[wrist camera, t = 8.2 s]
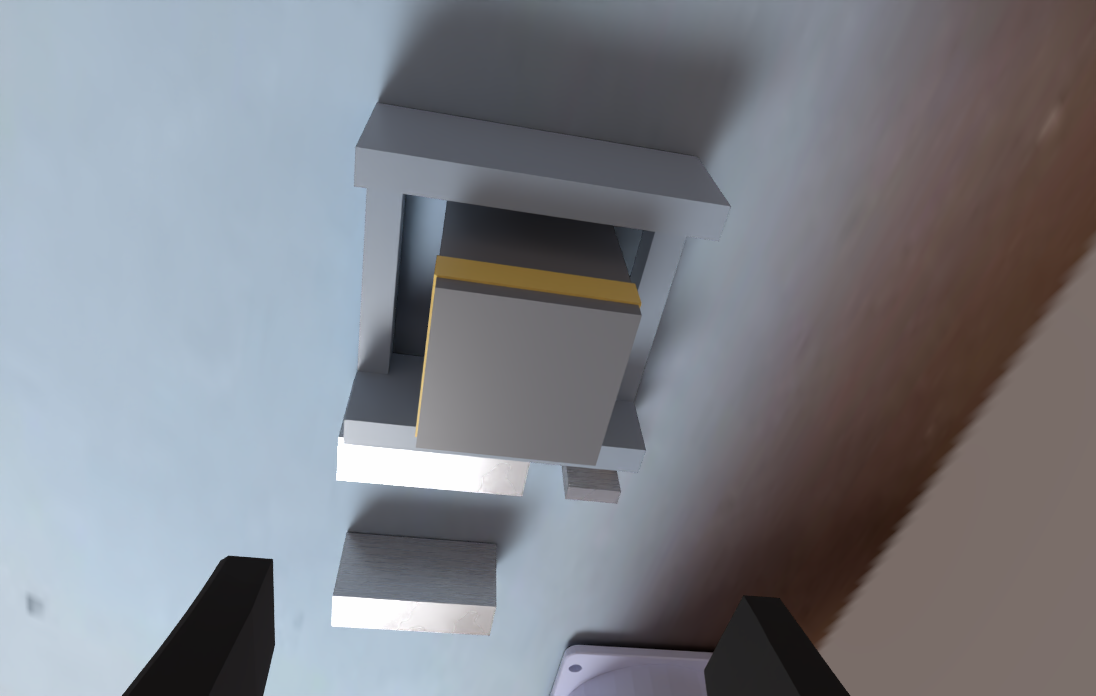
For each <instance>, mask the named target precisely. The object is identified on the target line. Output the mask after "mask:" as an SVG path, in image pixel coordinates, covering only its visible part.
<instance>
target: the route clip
mask: <svg viewBox="0 0 1096 696" xmlns="http://www.w3.org/2000/svg"><path fill="white" fill-rule="evenodd" d="M562 473H563V482H564V492H565V499H572V500H583V501H594V502H605V503H616V504H617V502H618V499H619V496H620V493H621V489H620V484H619V479H618V474H617V471H613V470H603V469H593V468H583V467H572V466H562Z"/></svg>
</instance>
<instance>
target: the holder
mask: <svg viewBox="0 0 1096 696" xmlns="http://www.w3.org/2000/svg"><path fill="white" fill-rule="evenodd" d="M354 186H355V187H362V188H367V195H366V214H365V234H364V253H363V272H362V292H361V311H360V330H359V350H358V369H357V374H356V378H355V382H354V386H353V389H352V393H351V397H350V400H349V404H348V408H347V412H346V415H345V419H344V441H343V444H346V445H356V446H366V447H377V448H387V449H397V450H408V451H418V452H428V453H439V454H449V455H459V456H469V457H480V458H490V459H500V460H511V461H521V462H531V463H541V464H552V465H562V466H572V467H583V468H593V469H603V470H613V471H624V472H634V473H638V472H639V469H640V466H641V463H642V461H643V458H644V455H645V452H646V448H645V444H644V440H643V437H642V433H641V429H640V425H639V421H638V417H637V413H636V409H635V405H634V400H635V397H636V394H637V391H638V387H639V384H640V381H641V378H642V375H643V372H644V369H645V366H646V362H647V359H648V356H649V353H650V350H651V347H652V344H653V341H654V338H655V334H656V331H657V328H658V325H659V322H660V319H661V316H662V313H663V309H664V306H665V303H666V300H667V297H668V294H669V291H670V288H671V285H672V281H673V278H674V275H675V272H676V269H677V266H678V263H679V260H680V257H681V253H682V250H683V247H684V244H685V241H686V238H687V237H693V238H700V239H706V240H713V241H719V240H720V237H721V234H722V231H723V229H724V226H725V223H726V220H727V217H728V214H729V211H730V208H731V206H730V204H729V203H728V201H727V200H726V198H725V197H724V195H723V194H722V192H721V191H720V189H719V188H718V186H717V185H716V183H715V182H714V180H713V179H712V177H711V176H710V174H709V173H708V172H707V170H706V169H705V167H704V166H703V164H702V163H701V161H700V160H699V158H698V157H696V156H690V155H684V154H678V153H672V152H666V151H660V150H654V149H648V148H642V147H637V146H631V145H625V144H619V143H613V142H607V141H601V140H595V139H589V138H583V137H577V136H571V135H566V134H560V133H554V132H548V131H542V130H536V129H530V128H524V127H518V126H512V125H506V124H501V123H495V122H489V121H483V120H477V119H471V118H465V117H459V116H453V115H447V114H441V113H435V112H430V111H424V110H418V109H412V108H406V107H400V106H394V105H388V104H382V103H376V106H375V108H374V110H373V112H372V114H371V116H370V118H369V120H368V122H367V124H366V126H365V128H364V131H363V133H362V135H361V137H360V139H359V141H358V143H357V145H356V150H355V174H354ZM406 194H408V195H415V196H421V197H428V198H434V199H441V200H448V201H454V202H461V203H468V204H474V205H481V206H487V207H494V208H501V209H507V210H514V211H521V212H527V213H534V214H541V215H547V216H554V217H560V218H567V219H574V220H580V221H587V222H594V223H600V224H607V225H613V226H620V227H627V228H633V229H640V230H644V231H643V234H642V238H641V241H640V245H639V248H638V252H637V255H636V259H635V262H634V266H633V269H632V273H631V276H630V280H631V283H635V285H636V288H637V291H638V294H639V297H640V300H641V303H642V304H641V307H640V311H641V314H642V317H641V320H640V324H639V327H638V330H637V333H636V337H635V340H634V343H633V346H632V350H631V353H630V356H629V359H628V362H627V366H626V369H625V372H624V375H623V379H622V382H621V385H620V388H619V392H618V395H617V398H616V401H615V405H614V408H613V411H612V414H611V418H610V421H609V424H608V427H607V431H606V434H605V437H604V440H603V444H602V447H601V450H600V453H599V457H598V460H597V463H596V466H591V465H581V464H571V463H562V462H552V461H542V460H532V459H522V458H512V457H502V456H492V455H482V454H472V453H462V452H453V451H443V450H433V449H423V448H416V441H417V437H415V432H416V423H417V415H418V406H419V398H420V389H421V381H422V373H423V364H424V357H421V356H413V355H404V354H396V353H393V341H394V329H395V317H396V305H397V293H398V281H399V269H400V257H401V245H402V233H403V221H404V209H405V197H406Z"/></svg>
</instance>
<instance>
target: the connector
mask: <svg viewBox="0 0 1096 696" xmlns="http://www.w3.org/2000/svg"><path fill="white" fill-rule="evenodd" d="M641 304H642V303H641V300H640V297H639V294H638V291H637V288H636V285H635V283H631V280H630V277H629V274H628V271H627V267H626V264H625V261H624V258H623V255H622V252H621V249H620V246H619V243H618V239H617V236H616V233H615V230H614V227H613V225H607V224H600V223H594V222H587V221H580V220H574V219H567V218H560V217H554V216H547V215H541V214H534V213H527V212H521V211H514V210H507V209H501V208H494V207H487V206H481V205H474V204H468V203H461V202H454V201H448V200H447V205H446V213H445V220H444V227H443V234H442V241H441V249H440V256H439V255H437V259H436V265H435V272H434V280H433V289H432V297H431V305H430V314H429V322H428V331H427V339H426V347H425V356H424V364H423V373H422V381H421V389H420V398H419V406H418V415H417V423H416V432H415V437H417V441H416V448H423V449H433V450H443V451H453V452H462V453H472V454H482V455H492V456H502V457H512V458H522V459H532V460H542V461H552V462H562V463H571V464H581V465H591V466H596V463H597V460H598V457H599V453H600V450H601V447H602V444H603V440H604V437H605V434H606V431H607V427H608V424H609V421H610V418H611V414H612V411H613V408H614V405H615V401H616V398H617V395H618V392H619V388H620V385H621V382H622V379H623V375H624V372H625V369H626V366H627V362H628V359H629V356H630V353H631V350H632V346H633V343H634V340H635V337H636V333H637V330H638V327H639V324H640V320H641V317H642V314H641V311H640V307H641Z"/></svg>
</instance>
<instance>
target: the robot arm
mask: <svg viewBox="0 0 1096 696" xmlns="http://www.w3.org/2000/svg"><path fill="white" fill-rule="evenodd" d="M274 646H275V628H274V586H273V559H264V558H251V557H239V556H227V557H226V558H224V559H222V560H221V561H220V562H219V564H218V565H217V567H216V569H215V570H214V572H213V573H212V575H211V576H210V578H209V580H208V581H207V583H206V584H205V585H204V587H203V588H202V590H201V591H200V593H199V594H198V596H197V597H196V599H195V600H194V602H193V603H192V604H191V606H190V607H189V609H188V610H187V612H186V613H185V614H184V616H183V617H182V618H181V620H180V621H179V623H178V624H177V625H176V627H175V628H174V629H173V631H172V632H171V633H170V635H169V636H168V637H167V639H166V640H165V641H164V643H163V644H162V645H161V647H160V648H159V649H158V651H157V652H156V653H155V655H154V656H153V657H152V658H151V660H150V661H149V662H148V663H147V665H146V666H145V667H144V668H143V670H142V671H141V672H140V673H139V675H138V676H137V677H136V678H135V680H134V681H133V682H132V684H131V685H130V686H129V687H128V689H127V690H126V691H125V692H124V694H123V695H122V696H263V694H264V690H265V685H266V681H267V677H268V673H269V668H270V664H271V659H272V655H273V651H274ZM550 696H850V695H849V693H848V692H847V691H846V689H845V688H844V687H843V685H842V684H841V683H840V681H839V680H838V679H837V677H836V676H835V674H834V673H833V672H832V670H831V669H830V668H829V666H828V665H827V663H826V662H825V661H824V659H823V658H822V657H821V655H820V654H819V652H818V651H817V649H816V648H815V647H814V645H813V644H812V643H811V641H810V640H809V638H808V637H807V636H806V634H805V633H804V631H803V630H802V629H801V627H800V626H799V624H798V623H797V622H796V620H795V619H794V618H793V616H792V615H791V613H790V612H789V611H788V609H787V608H786V607H785V605H784V604H783V603H782V601H781V600H780V598H770V597H757V596H744V595H743V597H742V599H741V601H740V603H739V605H738V607H737V609H736V611H735V612H734V614H733V616H732V618H731V620H730V622H729V624H728V626H727V627H726V629H725V631H724V633H723V635H722V637H721V639H720V641H719V643H718V644H717V646H716V648H715V650H714V652H713V653H712V652H695V651H678V650H661V649H644V648H627V647H610V646H593V645H573V646H570V647H569V648H567V649H566V651H565V652H564V655H563V658H562V661H561V664H560V667H559V670H558V673H557V676H556V679H555V682H554V685H553V688H552V691H551V694H550Z"/></svg>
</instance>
